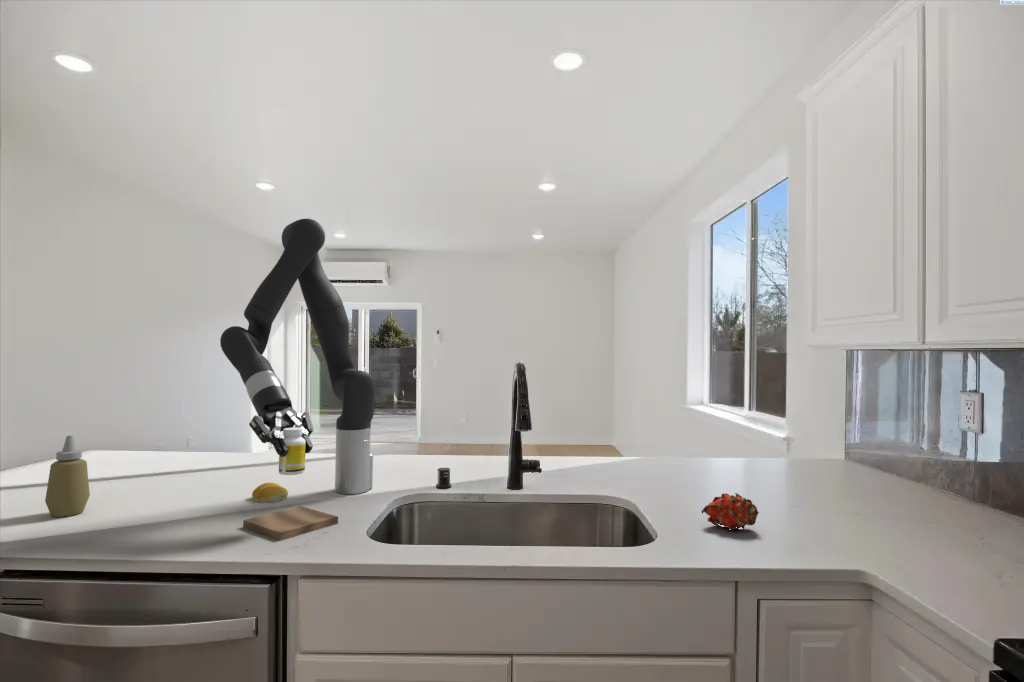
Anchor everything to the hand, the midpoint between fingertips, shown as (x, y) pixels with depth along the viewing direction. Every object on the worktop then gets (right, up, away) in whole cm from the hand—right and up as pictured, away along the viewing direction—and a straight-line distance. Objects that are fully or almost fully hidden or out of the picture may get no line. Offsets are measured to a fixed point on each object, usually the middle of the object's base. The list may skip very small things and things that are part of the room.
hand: (297, 452), depth 121 cm
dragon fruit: (+96, -18, +2) cm, 97 cm away
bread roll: (-16, -17, +22) cm, 32 cm away
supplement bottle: (-2, -5, +1) cm, 5 cm away
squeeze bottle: (-56, -16, +7) cm, 58 cm away
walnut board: (-2, -16, +1) cm, 16 cm away
